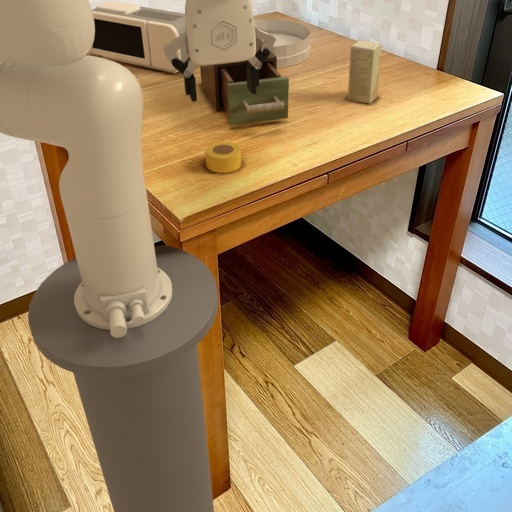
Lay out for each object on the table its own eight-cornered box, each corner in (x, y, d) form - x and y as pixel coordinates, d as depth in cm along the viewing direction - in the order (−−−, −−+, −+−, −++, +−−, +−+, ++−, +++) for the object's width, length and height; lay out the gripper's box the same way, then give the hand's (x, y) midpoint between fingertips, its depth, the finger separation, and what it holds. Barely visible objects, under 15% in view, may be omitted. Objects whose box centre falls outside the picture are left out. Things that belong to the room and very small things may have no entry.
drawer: (295, 127, 111) (296, 86, 106) (235, 135, 108) (234, 94, 104) (267, 92, 124) (267, 54, 120) (214, 98, 122) (212, 60, 117)
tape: (245, 170, 100) (244, 154, 98) (210, 175, 99) (209, 160, 97) (236, 154, 105) (235, 139, 103) (202, 158, 103) (201, 144, 102)
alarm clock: (89, 58, 145) (80, 6, 138) (114, 46, 151) (107, -3, 144) (180, 77, 134) (175, 23, 127) (203, 64, 140) (200, 12, 133)
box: (377, 97, 124) (384, 43, 117) (369, 104, 121) (375, 49, 114) (354, 92, 126) (359, 39, 119) (345, 99, 123) (350, 45, 116)
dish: (214, 41, 153) (213, 21, 150) (297, 35, 157) (298, 16, 154) (227, 72, 136) (227, 50, 133) (321, 64, 139) (322, 43, 136)
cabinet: (276, 103, 122) (276, 56, 116) (216, 111, 119) (213, 63, 113) (256, 78, 133) (256, 34, 127) (201, 85, 130) (198, 40, 124)
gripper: (160, -9, 80) (173, 111, 90) (282, -20, 83) (281, 97, 94) (152, -22, 86) (165, 92, 96) (267, -32, 89) (267, 79, 100)
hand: (222, 94), depth 95 cm, fingers open, 9 cm apart
